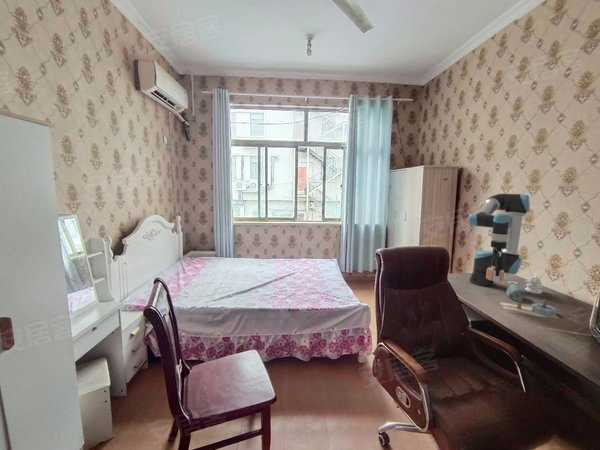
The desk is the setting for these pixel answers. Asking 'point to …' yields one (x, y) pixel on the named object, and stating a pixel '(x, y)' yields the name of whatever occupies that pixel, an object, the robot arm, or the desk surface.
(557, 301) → the desk surface
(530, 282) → the figurine
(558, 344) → the desk surface
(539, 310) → the gear
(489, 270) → the loose gear
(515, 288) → the spool
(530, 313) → the gear board
